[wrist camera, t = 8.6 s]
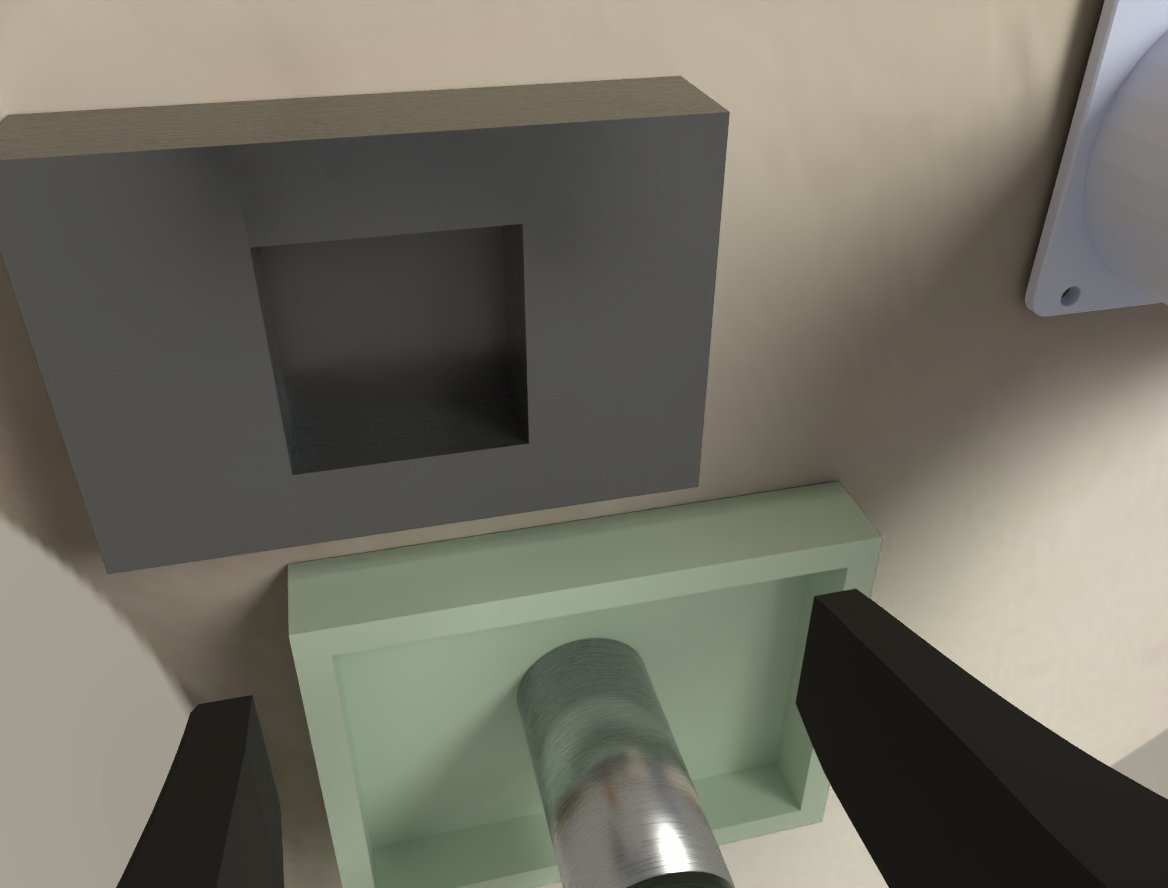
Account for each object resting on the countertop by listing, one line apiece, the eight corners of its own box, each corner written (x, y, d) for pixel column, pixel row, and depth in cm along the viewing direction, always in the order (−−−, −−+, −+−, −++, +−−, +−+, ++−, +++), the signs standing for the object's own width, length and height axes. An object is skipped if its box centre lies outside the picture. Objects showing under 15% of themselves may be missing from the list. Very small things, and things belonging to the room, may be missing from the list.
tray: (838, 481, 26) (883, 536, 24) (789, 759, 32) (821, 822, 30) (287, 564, 23) (288, 635, 22) (346, 853, 30) (351, 929, 28)
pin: (627, 618, 26) (738, 892, 20) (659, 703, 28) (769, 976, 22) (498, 670, 26) (567, 961, 20) (540, 751, 28) (615, 1040, 22)
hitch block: (680, 75, 20) (729, 112, 17) (661, 424, 24) (698, 486, 22) (7, 114, 17) (-30, 162, 15) (124, 496, 21) (107, 574, 19)
